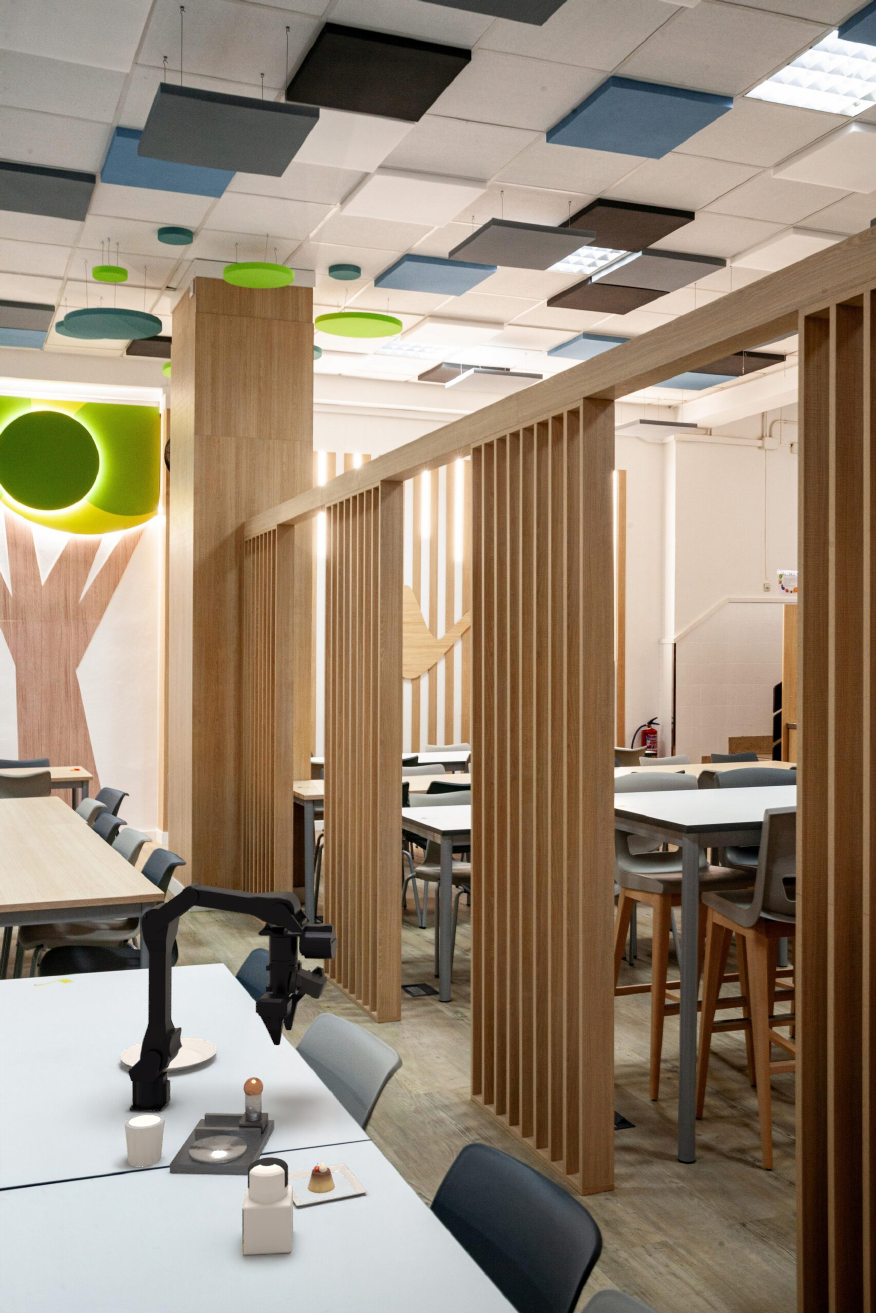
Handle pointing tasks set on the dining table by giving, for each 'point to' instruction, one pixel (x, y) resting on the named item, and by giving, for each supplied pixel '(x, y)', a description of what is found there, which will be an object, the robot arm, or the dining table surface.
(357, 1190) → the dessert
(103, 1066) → the dining table surface
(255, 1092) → the press lever
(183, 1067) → the plate
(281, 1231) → the medicine bottle
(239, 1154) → the base
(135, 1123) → the white cup
